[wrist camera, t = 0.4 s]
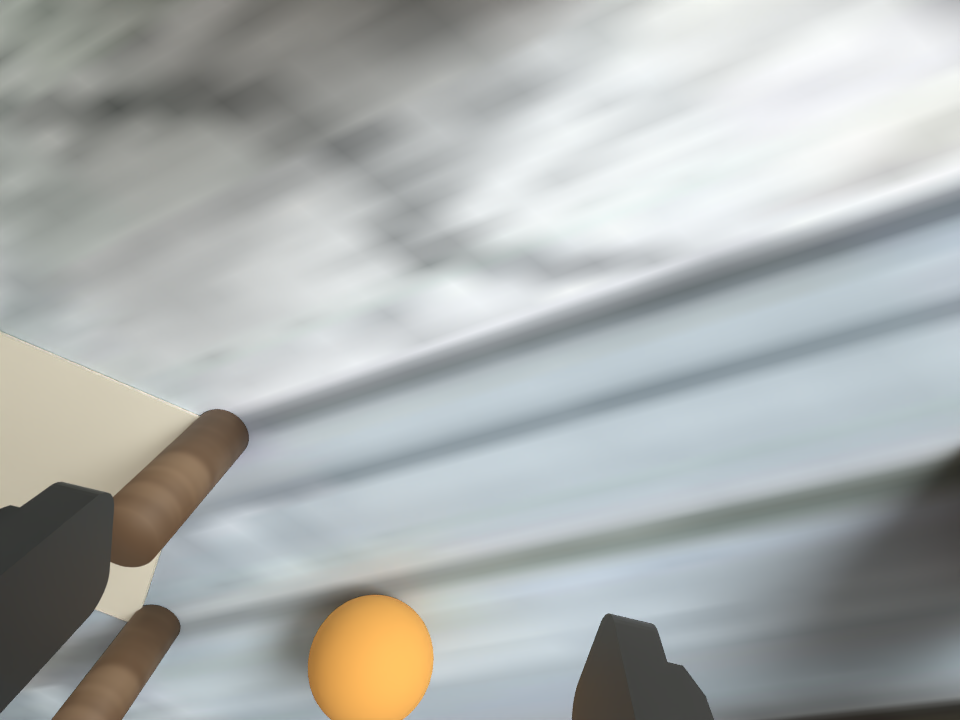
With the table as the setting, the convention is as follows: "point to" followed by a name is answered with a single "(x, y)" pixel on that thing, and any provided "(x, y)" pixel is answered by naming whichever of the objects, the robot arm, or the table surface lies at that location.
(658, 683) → the robot arm
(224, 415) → the post
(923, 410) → the table surface
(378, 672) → the ball
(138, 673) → the post
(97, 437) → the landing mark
